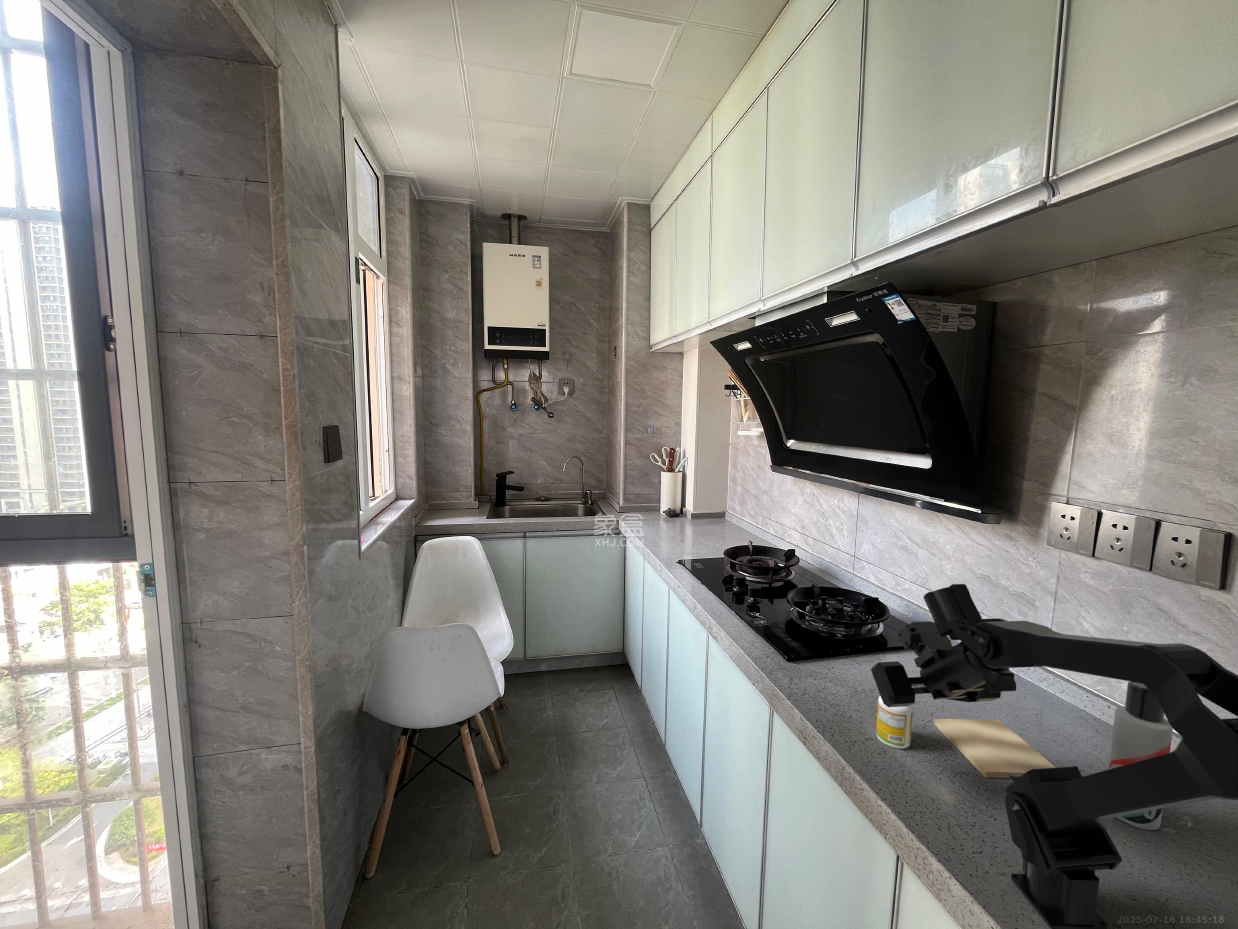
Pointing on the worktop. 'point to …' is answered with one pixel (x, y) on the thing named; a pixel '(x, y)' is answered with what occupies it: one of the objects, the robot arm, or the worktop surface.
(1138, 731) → the lotion bottle
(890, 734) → the supplement bottle
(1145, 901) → the worktop surface
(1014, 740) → the oak board
